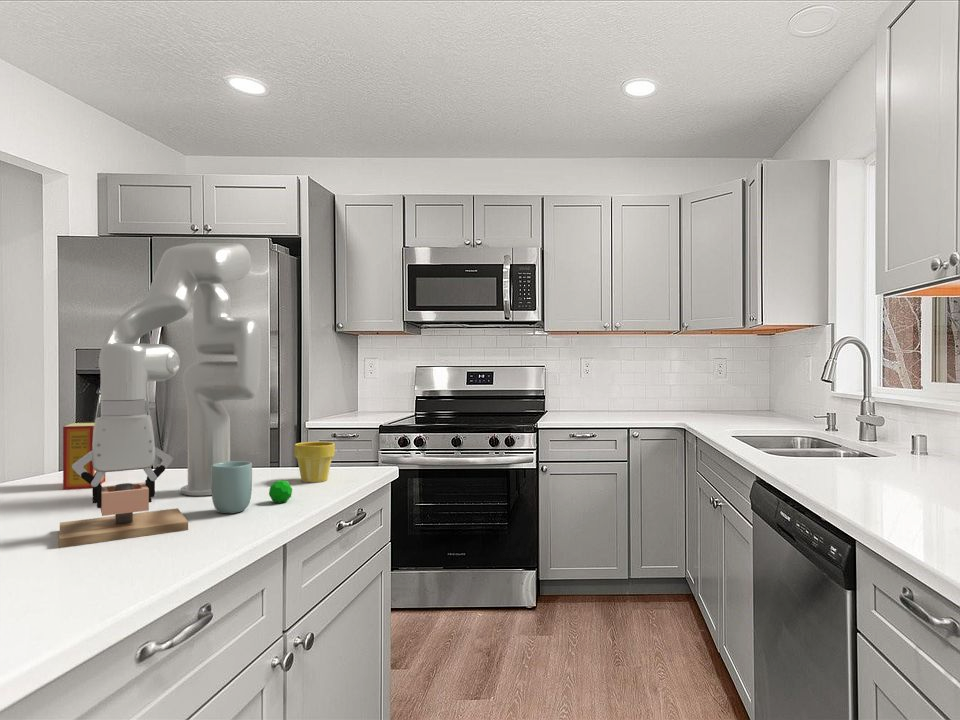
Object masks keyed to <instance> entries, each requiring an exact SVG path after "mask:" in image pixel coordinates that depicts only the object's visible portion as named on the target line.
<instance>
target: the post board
mask: <svg viewBox="0 0 960 720" xmlns="http://www.w3.org/2000/svg"><path fill="white" fill-rule="evenodd" d="M114 485H115V484H114ZM123 490H133V483H132V482H128V483H127V482H126V483H125V482H123V483H118V484H116V485H115V491H123ZM188 530H189V521H188V520H187V518H186V517H185V515H184V514H183V513H182V511H181V510H180V508H178V507H177V508H170V509H169V508H168V509H162V510H161V509H160V510H154V511H153V510H152V511H142V512H131V513H123V514H115V515H109V516H101V517H94V518H86V519H80V520H79V519H78V520H70V521H62V522H59V534H58V537H59V538H58V548H67V547H73V546H74V547H75V546H81V545H87V544H88V545H89V544H96V543H104V542H110V541H117V540H124V539H131V538H139V537H145V536H152V535H153V536H154V535H160V534H161V535H162V534H168V533H176V532H181V531H188Z"/></svg>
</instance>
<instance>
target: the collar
mask: <svg viewBox="0 0 960 720" xmlns="http://www.w3.org/2000/svg"><path fill="white" fill-rule="evenodd" d="M132 484H133V490H123V491H115V484H114V485H103V486H102V491H101V494H102V507H101V508H99V509H100V513H101V517H107V516H115V514H123V513H131V512H133V513H140V512H149V509H150V507H149V506H150V502H149V488H148V487H147V486H146V485H145V481H144V482H135V483H132Z"/></svg>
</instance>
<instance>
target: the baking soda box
mask: <svg viewBox="0 0 960 720" xmlns="http://www.w3.org/2000/svg"><path fill="white" fill-rule="evenodd" d="M94 424H95V422H77V423H76V422H75V423H70V424H67V425H64V426H62V434H63V435H62V447H63V448H62V458H63V459H62V466H63V467H62V471H63V472H62V473H63V474H62V484H63V485H62V490H63V491H64V490H66V491H67V490H69V491H70V490H81V489H82V490H86V489H92V485H91V484H89V483H88V482H87V481H85V480H84V479H83V478H81V476H80V475H79V474H78V473H76V472H75V471H74V470H73V468H72V465H73V464H74V463H75V462H77V461H78V460H79V459H81V458H82V457H84V456H85V455H86V454H88V453H89V452H90V451H92V442H93V430H94ZM83 468H84V469H85V470H86V471H87V472H88V473H90V474H91V475H92V476H94V474H95V473H96V471H95V470H94V467H93V466H92V460H91V461H90V462H88V463H87V464H85V465H84V467H83ZM105 482H106V474H105V475H104V476H103V478H102V480H101V481H100V483H101V484H103V483H105Z"/></svg>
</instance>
